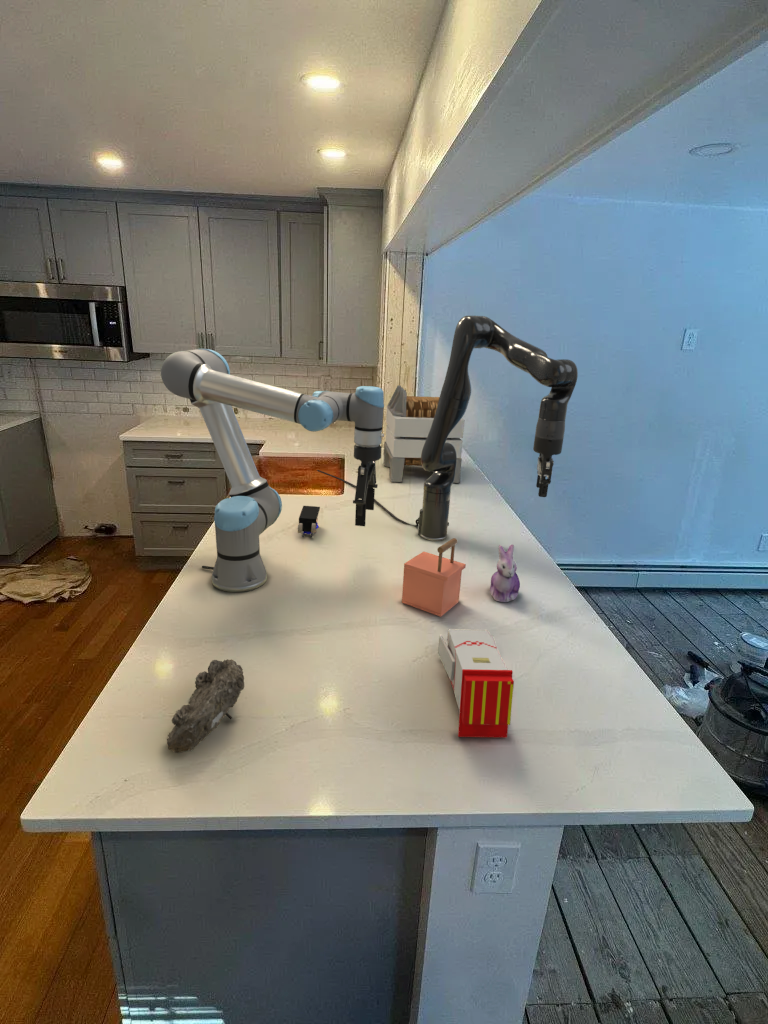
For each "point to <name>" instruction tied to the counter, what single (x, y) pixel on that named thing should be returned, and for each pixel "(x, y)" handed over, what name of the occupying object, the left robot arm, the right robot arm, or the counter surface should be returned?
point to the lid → (437, 563)
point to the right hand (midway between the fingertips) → (541, 492)
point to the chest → (430, 591)
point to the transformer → (413, 432)
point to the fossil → (206, 705)
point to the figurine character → (308, 520)
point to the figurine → (505, 577)
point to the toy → (478, 682)
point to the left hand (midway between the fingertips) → (364, 517)
